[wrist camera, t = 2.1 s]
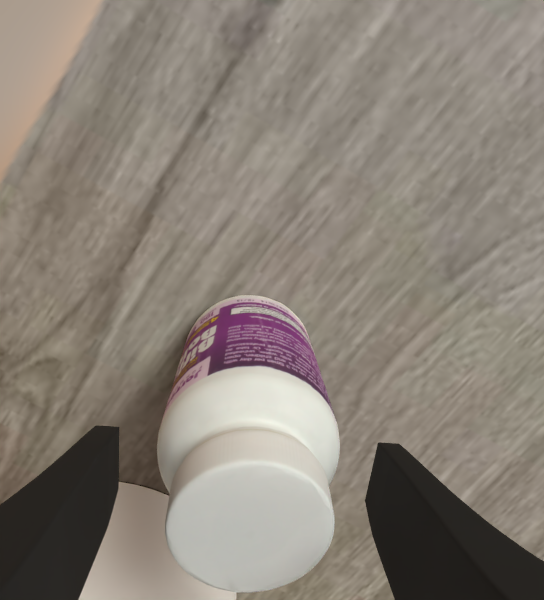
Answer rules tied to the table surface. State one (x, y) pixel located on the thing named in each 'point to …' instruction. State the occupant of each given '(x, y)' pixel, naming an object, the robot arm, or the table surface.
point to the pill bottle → (248, 449)
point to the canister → (141, 555)
